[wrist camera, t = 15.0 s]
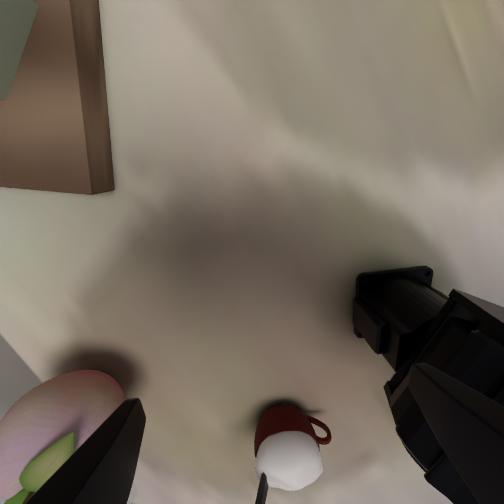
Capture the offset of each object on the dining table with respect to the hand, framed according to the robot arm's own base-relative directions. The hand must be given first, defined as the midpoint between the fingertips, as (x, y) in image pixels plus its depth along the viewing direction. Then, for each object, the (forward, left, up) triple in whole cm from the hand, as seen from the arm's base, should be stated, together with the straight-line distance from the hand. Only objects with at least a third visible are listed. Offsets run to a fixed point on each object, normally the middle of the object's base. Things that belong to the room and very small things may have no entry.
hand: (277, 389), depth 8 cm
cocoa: (-1, +19, -13) cm, 23 cm away
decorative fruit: (+16, +11, -13) cm, 23 cm away
